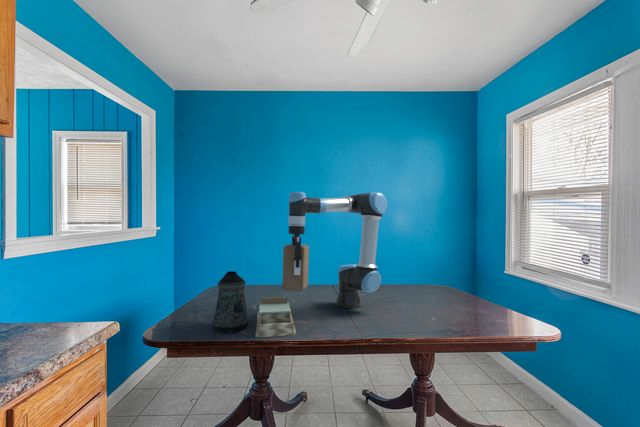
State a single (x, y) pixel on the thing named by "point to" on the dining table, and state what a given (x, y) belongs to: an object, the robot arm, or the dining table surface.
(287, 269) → the wooden block
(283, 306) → the lid
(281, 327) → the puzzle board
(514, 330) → the dining table surface
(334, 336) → the dining table surface
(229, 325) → the beer stein
